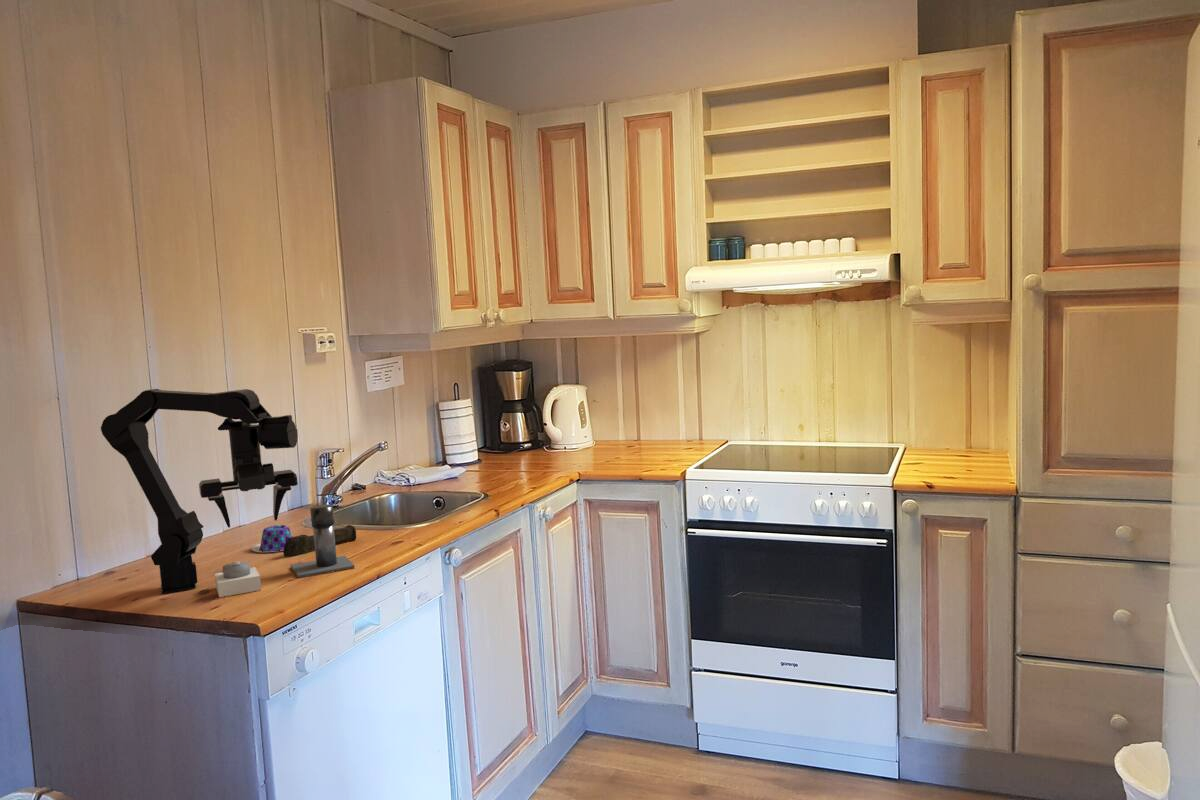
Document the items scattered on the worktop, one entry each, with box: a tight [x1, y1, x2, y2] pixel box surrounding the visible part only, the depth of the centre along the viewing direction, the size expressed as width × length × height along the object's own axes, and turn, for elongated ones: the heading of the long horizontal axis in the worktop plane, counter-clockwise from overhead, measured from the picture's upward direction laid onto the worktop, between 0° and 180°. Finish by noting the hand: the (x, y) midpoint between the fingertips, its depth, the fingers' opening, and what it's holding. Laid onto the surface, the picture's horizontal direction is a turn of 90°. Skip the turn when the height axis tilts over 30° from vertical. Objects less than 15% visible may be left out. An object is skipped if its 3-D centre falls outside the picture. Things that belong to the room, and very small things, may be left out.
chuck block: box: [214, 561, 262, 598], centre depth 186 cm, size 8×8×6 cm
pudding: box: [251, 524, 293, 553], centre depth 220 cm, size 12×12×5 cm
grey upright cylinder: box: [309, 504, 338, 567], centre depth 199 cm, size 5×5×13 cm
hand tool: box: [282, 524, 357, 558], centre depth 217 cm, size 19×4×5 cm, turn 138°
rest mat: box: [290, 555, 355, 579], centre depth 199 cm, size 12×10×1 cm
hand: (252, 523), depth 188 cm, fingers open, 9 cm apart
